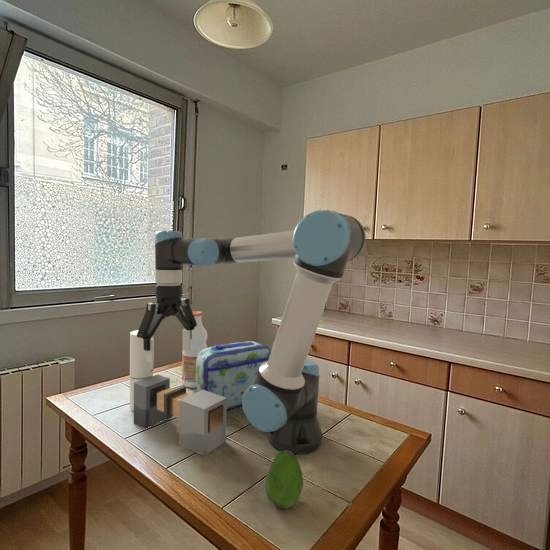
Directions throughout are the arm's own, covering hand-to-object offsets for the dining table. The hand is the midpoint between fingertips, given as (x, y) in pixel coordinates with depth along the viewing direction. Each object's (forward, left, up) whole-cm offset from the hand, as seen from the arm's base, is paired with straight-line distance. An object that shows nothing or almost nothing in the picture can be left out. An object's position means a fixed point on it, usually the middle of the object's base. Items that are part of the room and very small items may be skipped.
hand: (169, 355), depth 110 cm
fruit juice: (+17, -28, -21) cm, 39 cm away
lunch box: (-6, -24, -21) cm, 32 cm away
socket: (+6, +1, -21) cm, 22 cm away
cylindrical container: (+16, -3, -21) cm, 27 cm away
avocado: (-46, +8, -21) cm, 51 cm away
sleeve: (-16, +1, -21) cm, 26 cm away
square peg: (-10, +1, -16) cm, 19 cm away
